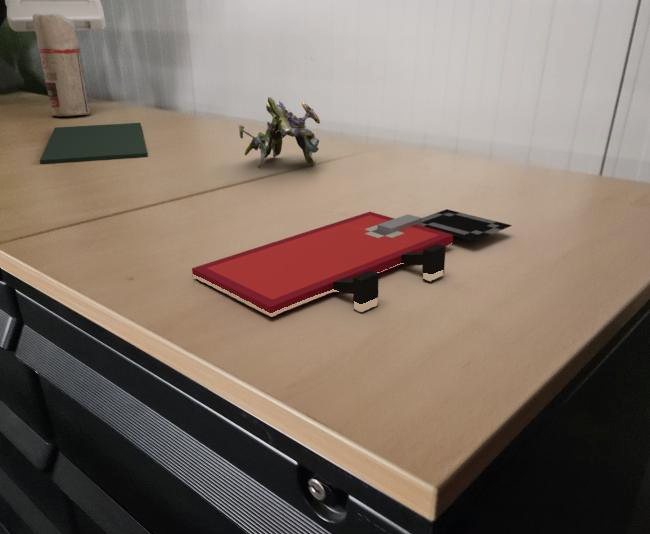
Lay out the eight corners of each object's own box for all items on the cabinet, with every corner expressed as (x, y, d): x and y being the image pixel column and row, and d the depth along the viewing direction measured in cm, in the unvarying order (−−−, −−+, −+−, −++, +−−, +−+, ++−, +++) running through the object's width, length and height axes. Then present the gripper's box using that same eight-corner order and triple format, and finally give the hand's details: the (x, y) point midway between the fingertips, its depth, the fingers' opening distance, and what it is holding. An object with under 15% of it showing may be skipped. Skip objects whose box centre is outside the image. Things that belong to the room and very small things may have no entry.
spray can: (50, 114, 137) (29, 13, 127) (89, 111, 140) (72, 12, 130) (51, 119, 130) (30, 13, 121) (92, 117, 133) (74, 12, 123)
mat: (40, 164, 94) (39, 160, 94) (55, 130, 119) (54, 127, 119) (148, 156, 98) (147, 152, 98) (140, 125, 123) (140, 122, 123)
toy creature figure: (309, 199, 95) (339, 142, 86) (242, 195, 91) (266, 134, 81) (292, 145, 100) (319, 86, 91) (228, 138, 95) (249, 75, 86)
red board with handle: (527, 238, 63) (414, 209, 73) (531, 211, 61) (415, 185, 71) (302, 339, 45) (193, 282, 55) (301, 305, 44) (189, 253, 54)
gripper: (0, -19, 134) (4, 32, 130) (99, -19, 139) (106, 31, 135) (8, 4, 140) (12, 54, 136) (103, 3, 145) (109, 52, 141)
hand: (60, 42), depth 136 cm, fingers closed
